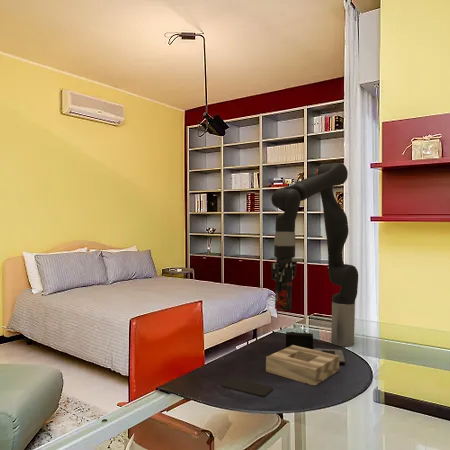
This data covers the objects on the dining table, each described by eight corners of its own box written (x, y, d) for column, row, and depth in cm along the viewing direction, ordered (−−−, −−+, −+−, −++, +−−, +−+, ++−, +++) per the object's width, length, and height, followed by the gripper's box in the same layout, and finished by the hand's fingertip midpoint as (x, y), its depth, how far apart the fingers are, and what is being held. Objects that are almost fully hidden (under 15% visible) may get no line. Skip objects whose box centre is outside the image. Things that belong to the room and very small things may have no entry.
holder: (292, 358, 153) (293, 345, 153) (338, 370, 142) (339, 355, 142) (265, 371, 139) (266, 356, 139) (314, 386, 128) (315, 369, 128)
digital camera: (312, 350, 164) (312, 332, 164) (313, 354, 159) (313, 336, 159) (285, 348, 166) (286, 330, 166) (285, 352, 161) (286, 334, 161)
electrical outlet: (344, 367, 147) (345, 360, 147) (314, 364, 149) (314, 358, 149) (341, 355, 160) (341, 349, 160) (313, 353, 162) (313, 347, 162)
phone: (231, 377, 133) (274, 387, 125) (231, 379, 133) (274, 389, 125) (219, 385, 126) (264, 396, 119) (219, 387, 126) (264, 398, 119)
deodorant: (294, 309, 150) (295, 267, 150) (284, 311, 146) (285, 268, 146) (281, 306, 154) (282, 266, 154) (271, 308, 150) (272, 267, 150)
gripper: (286, 243, 158) (285, 287, 158) (264, 244, 147) (263, 291, 147) (304, 244, 153) (302, 289, 153) (282, 245, 142) (281, 294, 142)
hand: (283, 290), depth 150 cm, fingers closed on deodorant, 6 cm apart
